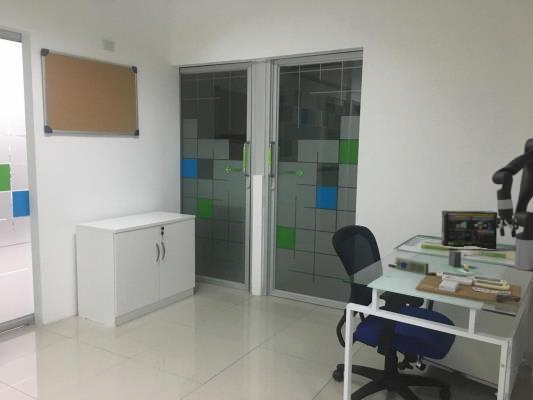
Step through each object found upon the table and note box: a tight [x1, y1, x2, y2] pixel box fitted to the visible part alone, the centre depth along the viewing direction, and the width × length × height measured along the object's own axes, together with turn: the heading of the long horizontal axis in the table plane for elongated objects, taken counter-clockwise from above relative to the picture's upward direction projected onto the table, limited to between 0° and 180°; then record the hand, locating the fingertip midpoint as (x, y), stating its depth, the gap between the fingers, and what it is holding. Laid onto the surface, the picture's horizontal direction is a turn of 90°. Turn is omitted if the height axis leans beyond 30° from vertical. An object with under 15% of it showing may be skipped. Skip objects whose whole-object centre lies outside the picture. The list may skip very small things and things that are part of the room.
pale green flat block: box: [440, 263, 483, 277], centre depth 258 cm, size 22×14×5 cm, turn 7°
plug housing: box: [448, 249, 462, 268], centre depth 264 cm, size 6×4×9 cm, turn 7°
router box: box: [441, 210, 498, 250], centre depth 322 cm, size 36×11×27 cm, turn 81°
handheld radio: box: [387, 256, 430, 276], centre depth 258 cm, size 7×3×25 cm
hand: (508, 236), depth 252 cm, fingers open, 8 cm apart
